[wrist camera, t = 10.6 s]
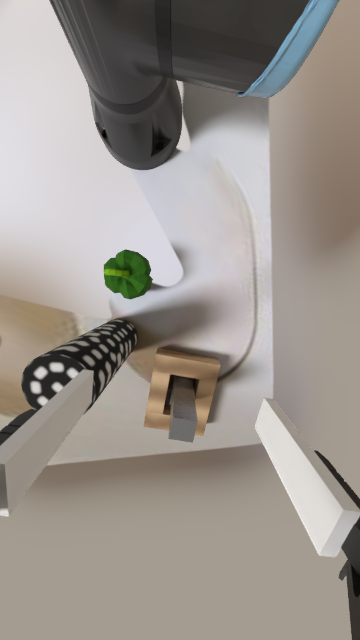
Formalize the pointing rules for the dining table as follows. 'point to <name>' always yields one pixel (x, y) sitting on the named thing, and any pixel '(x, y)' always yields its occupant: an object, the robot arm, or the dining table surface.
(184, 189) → the dining table surface
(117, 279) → the bell pepper
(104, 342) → the white-spotted black cylinder
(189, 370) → the wooden rectangular frame
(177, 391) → the bracket
